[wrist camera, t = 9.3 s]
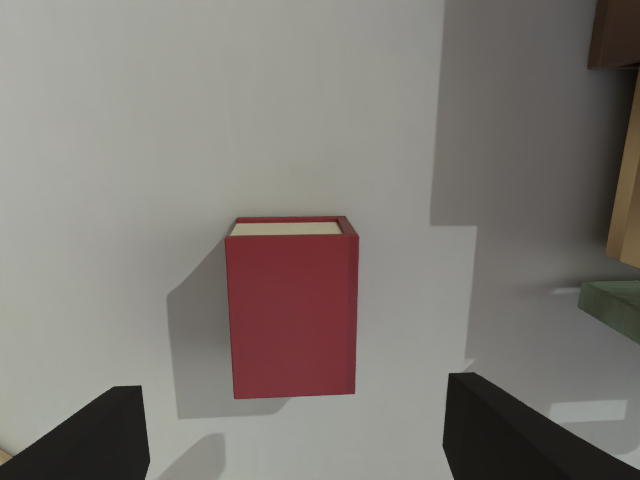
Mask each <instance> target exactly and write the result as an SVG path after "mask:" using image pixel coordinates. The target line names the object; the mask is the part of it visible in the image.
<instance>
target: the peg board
mask: <svg viewBox="0 0 640 480" xmlns="http://www.w3.org/2000/svg"><path fill="white" fill-rule="evenodd" d="M11 458H13V457H12V456H10V455H8V454H7V453H5V452H4V451H2V450H0V466H1V465H2V464H4V463H5V462H7V461H8V460H10V459H11Z"/></svg>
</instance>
